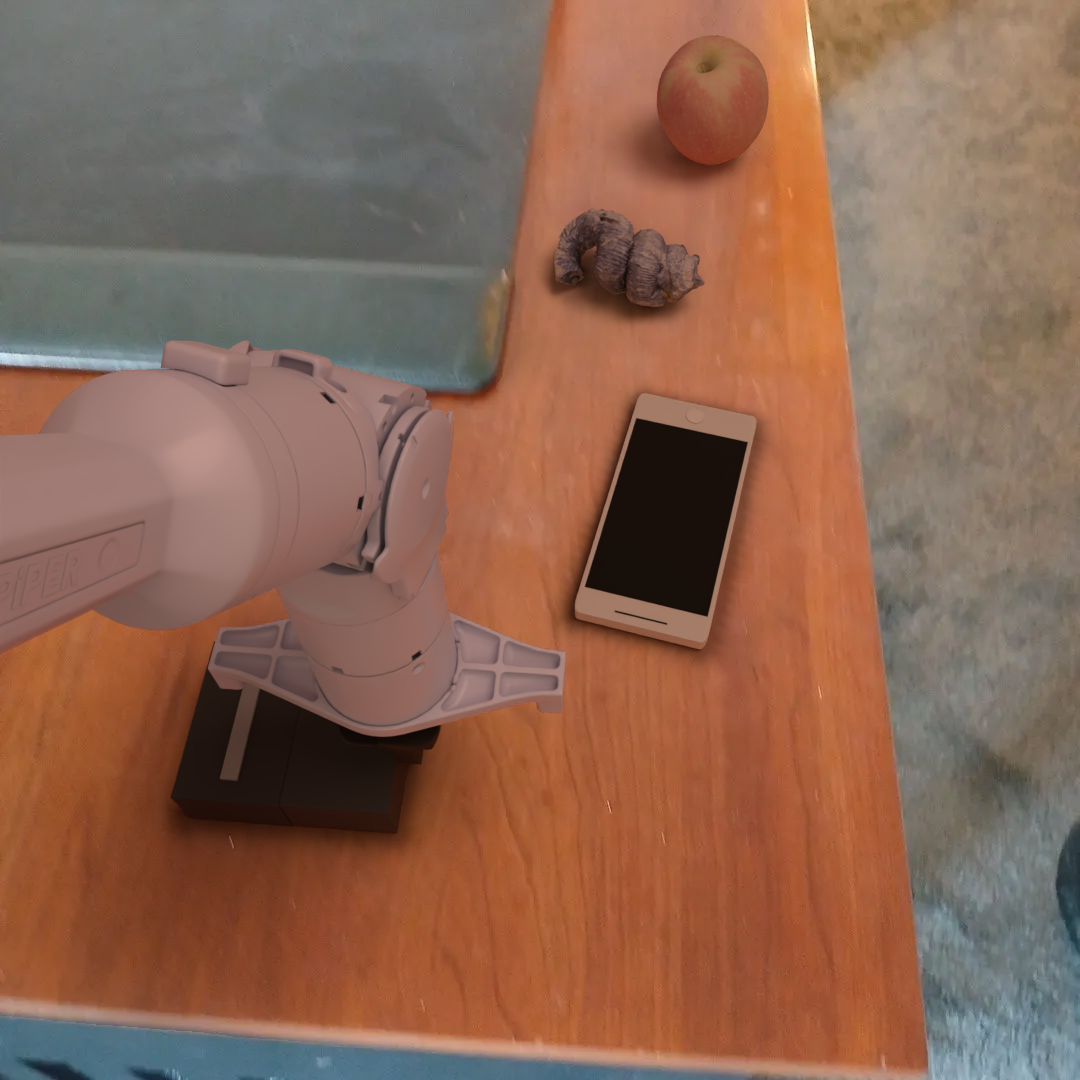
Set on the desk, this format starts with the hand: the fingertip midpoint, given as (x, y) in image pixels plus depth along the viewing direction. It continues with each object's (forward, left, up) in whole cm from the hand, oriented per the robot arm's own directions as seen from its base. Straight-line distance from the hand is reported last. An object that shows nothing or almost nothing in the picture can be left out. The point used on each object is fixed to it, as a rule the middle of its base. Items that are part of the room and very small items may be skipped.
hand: (413, 744), depth 51 cm
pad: (0, +3, -1) cm, 3 cm away
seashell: (+33, -9, -2) cm, 34 cm away
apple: (+47, -14, -2) cm, 49 cm away
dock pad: (0, +8, -1) cm, 8 cm away
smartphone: (+15, -12, -2) cm, 19 cm away
